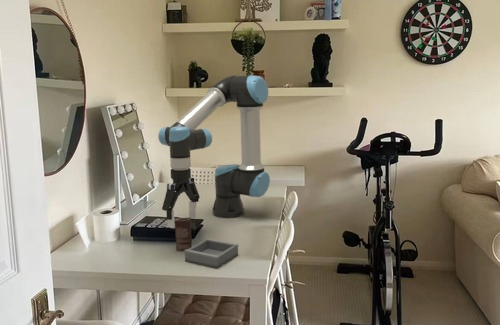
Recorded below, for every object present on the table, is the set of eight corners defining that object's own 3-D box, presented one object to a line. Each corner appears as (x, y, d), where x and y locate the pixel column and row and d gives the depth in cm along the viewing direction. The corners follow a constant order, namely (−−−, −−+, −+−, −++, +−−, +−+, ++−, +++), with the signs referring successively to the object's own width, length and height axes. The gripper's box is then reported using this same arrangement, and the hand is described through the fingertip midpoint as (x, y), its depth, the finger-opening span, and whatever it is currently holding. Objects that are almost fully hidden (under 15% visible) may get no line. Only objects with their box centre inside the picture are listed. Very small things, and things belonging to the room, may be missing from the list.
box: (191, 246, 196) (190, 216, 193) (191, 250, 191) (190, 220, 189) (176, 246, 195) (175, 217, 193) (175, 251, 191) (174, 221, 188)
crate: (206, 248, 193) (206, 238, 192) (238, 255, 186) (238, 244, 185) (184, 261, 181) (184, 250, 180) (217, 268, 174) (217, 257, 173)
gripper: (192, 161, 199) (193, 213, 203) (150, 173, 178) (153, 230, 182) (207, 163, 196) (208, 215, 200) (167, 175, 174) (169, 233, 178)
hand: (182, 222), depth 191 cm, fingers open, 13 cm apart
